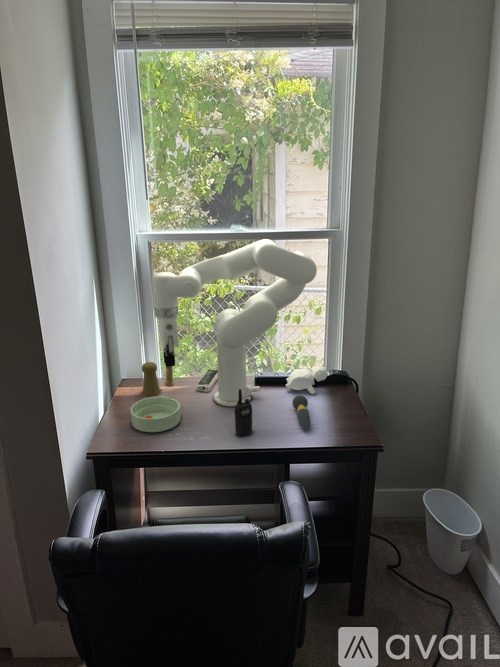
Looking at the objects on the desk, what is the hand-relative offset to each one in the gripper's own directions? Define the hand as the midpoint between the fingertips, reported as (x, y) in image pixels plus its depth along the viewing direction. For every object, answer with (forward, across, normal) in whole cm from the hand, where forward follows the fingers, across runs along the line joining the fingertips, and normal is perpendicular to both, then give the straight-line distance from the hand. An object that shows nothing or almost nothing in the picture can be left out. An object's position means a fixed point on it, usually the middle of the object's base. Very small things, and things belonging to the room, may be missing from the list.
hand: (169, 364), depth 170 cm
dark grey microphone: (+14, -24, -38) cm, 47 cm away
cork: (+14, +10, +6) cm, 18 cm away
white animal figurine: (+14, -5, -47) cm, 49 cm away
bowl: (+14, -12, +7) cm, 20 cm away
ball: (+12, -14, +9) cm, 21 cm away
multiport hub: (+14, +11, -15) cm, 23 cm away
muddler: (+8, 0, 0) cm, 8 cm away
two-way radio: (+14, -27, -17) cm, 35 cm away
